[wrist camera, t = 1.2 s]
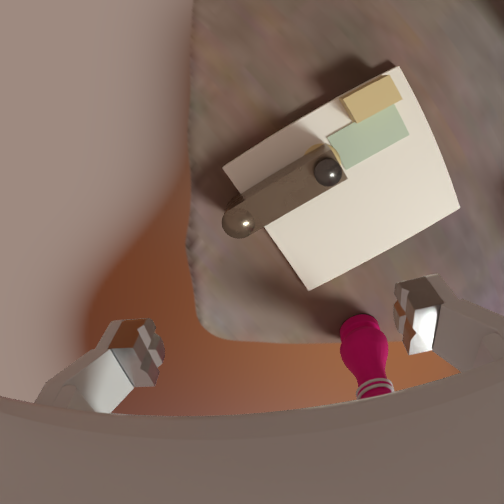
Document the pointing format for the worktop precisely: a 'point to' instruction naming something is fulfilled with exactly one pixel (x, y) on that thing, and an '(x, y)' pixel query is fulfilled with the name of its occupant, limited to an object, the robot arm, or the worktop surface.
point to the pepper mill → (365, 355)
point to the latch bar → (283, 192)
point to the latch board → (355, 178)
